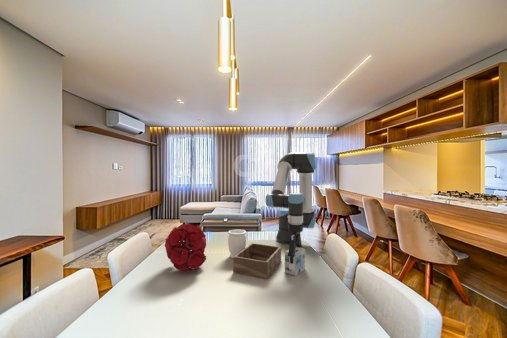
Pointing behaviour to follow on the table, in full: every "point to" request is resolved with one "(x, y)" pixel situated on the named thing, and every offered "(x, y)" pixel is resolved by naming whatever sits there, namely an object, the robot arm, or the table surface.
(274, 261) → the walnut crate
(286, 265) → the light bulb box
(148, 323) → the table surface
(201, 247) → the bouquet
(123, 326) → the table surface
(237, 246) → the jar
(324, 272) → the table surface
